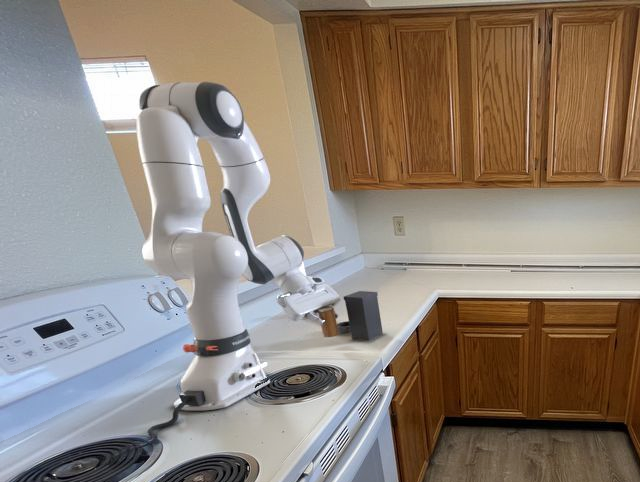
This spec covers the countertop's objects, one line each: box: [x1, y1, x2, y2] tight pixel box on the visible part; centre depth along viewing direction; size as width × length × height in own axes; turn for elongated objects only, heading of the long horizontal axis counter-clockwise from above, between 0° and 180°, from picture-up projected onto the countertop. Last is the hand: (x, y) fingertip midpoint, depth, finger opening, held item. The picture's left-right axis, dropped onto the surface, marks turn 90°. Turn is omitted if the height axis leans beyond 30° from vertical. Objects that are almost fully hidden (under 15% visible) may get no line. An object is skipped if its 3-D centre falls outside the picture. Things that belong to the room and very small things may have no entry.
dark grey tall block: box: [343, 290, 384, 342], centre depth 142 cm, size 8×7×15 cm
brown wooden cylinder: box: [317, 306, 340, 338], centre depth 135 cm, size 5×5×9 cm
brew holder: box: [337, 320, 351, 335], centre depth 151 cm, size 7×7×3 cm
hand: (329, 320), depth 135 cm, fingers closed on brown wooden cylinder, 5 cm apart
